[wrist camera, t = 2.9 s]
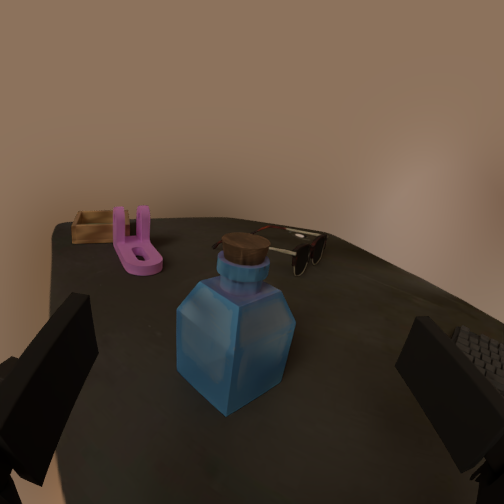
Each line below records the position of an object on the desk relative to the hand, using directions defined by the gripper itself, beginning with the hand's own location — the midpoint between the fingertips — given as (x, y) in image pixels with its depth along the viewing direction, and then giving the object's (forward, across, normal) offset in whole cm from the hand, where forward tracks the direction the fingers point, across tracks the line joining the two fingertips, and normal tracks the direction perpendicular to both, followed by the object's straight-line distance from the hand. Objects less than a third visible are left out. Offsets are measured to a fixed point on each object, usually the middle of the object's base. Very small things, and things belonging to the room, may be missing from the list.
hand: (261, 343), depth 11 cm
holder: (+43, -24, -11) cm, 50 cm away
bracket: (+33, -14, -11) cm, 38 cm away
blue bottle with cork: (+10, 0, -11) cm, 15 cm away
